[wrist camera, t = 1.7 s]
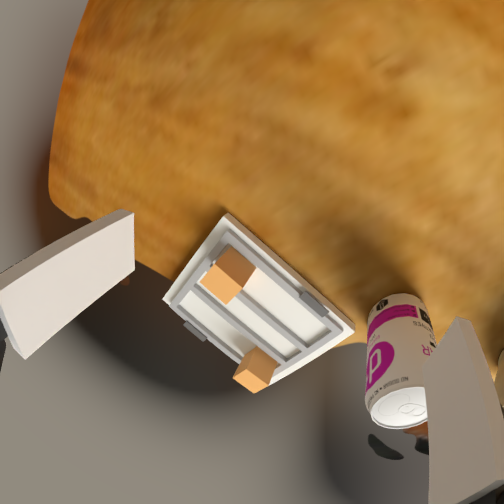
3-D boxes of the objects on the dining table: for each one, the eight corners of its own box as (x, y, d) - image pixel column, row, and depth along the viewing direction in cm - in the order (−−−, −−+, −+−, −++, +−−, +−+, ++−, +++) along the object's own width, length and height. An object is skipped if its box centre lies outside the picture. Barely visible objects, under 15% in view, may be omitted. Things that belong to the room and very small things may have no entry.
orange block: (217, 263, 37) (199, 282, 33) (231, 245, 35) (214, 263, 31) (240, 284, 37) (226, 305, 33) (256, 267, 35) (242, 288, 31)
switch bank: (167, 294, 45) (158, 303, 42) (229, 211, 35) (220, 217, 33) (270, 379, 45) (266, 390, 43) (356, 324, 36) (355, 336, 34)
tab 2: (244, 355, 43) (232, 377, 38) (257, 345, 41) (246, 369, 37) (263, 370, 43) (254, 393, 38) (277, 361, 41) (268, 385, 37)
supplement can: (357, 329, 36) (348, 421, 23) (386, 280, 32) (396, 372, 19) (405, 347, 35) (412, 437, 22) (437, 302, 31) (464, 392, 18)
